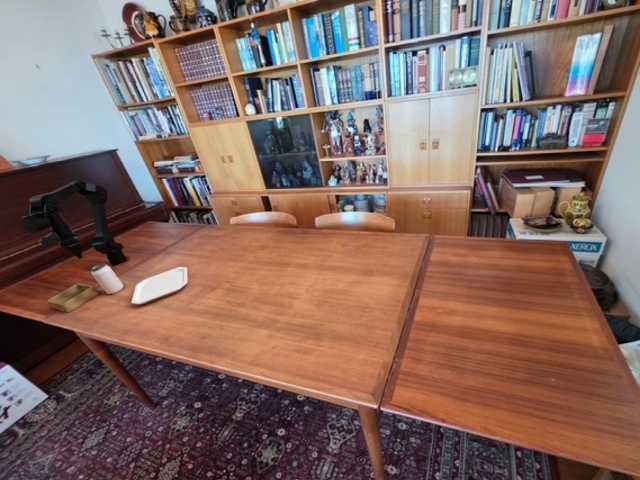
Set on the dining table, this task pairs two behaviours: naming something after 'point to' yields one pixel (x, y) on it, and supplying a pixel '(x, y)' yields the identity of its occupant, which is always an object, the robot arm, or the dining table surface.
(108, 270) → the can
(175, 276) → the plate
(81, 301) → the wooden frame
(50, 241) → the robot arm
